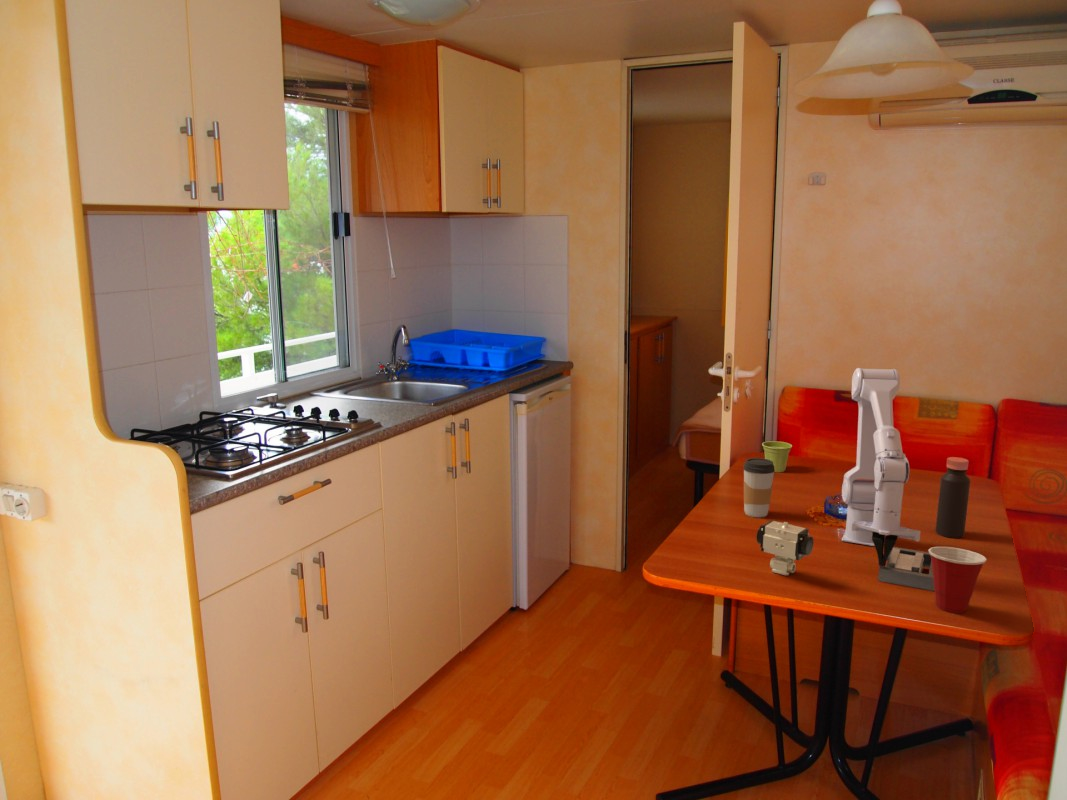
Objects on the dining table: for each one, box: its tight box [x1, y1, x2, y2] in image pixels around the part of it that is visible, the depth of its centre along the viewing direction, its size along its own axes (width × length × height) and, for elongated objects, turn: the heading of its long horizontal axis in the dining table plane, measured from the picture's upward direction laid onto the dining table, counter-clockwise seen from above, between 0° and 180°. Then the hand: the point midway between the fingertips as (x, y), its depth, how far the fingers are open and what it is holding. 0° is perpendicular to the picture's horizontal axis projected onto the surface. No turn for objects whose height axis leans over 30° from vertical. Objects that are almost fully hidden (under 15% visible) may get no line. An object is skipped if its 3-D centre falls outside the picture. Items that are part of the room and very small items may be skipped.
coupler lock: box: [885, 548, 924, 573], centre depth 195 cm, size 10×7×4 cm
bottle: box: [934, 456, 971, 539], centre depth 219 cm, size 7×7×20 cm
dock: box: [877, 546, 935, 592], centre depth 194 cm, size 16×12×3 cm
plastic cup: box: [927, 546, 987, 614], centre depth 176 cm, size 11×11×12 cm
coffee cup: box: [743, 457, 775, 518], centre depth 234 cm, size 8×8×15 cm
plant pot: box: [761, 440, 793, 473], centre depth 278 cm, size 9×9×9 cm
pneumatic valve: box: [756, 520, 814, 577], centre depth 193 cm, size 6×12×12 cm, turn 51°
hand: (882, 564), depth 197 cm, fingers closed
